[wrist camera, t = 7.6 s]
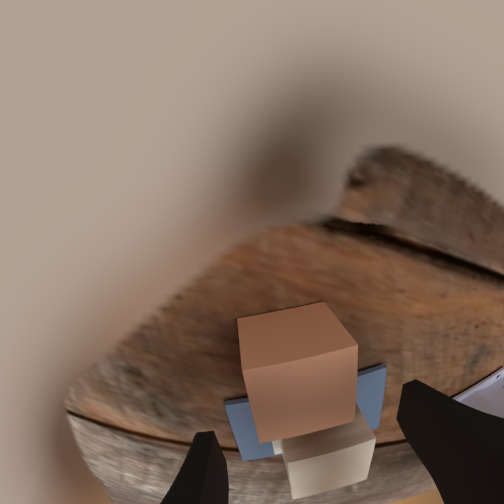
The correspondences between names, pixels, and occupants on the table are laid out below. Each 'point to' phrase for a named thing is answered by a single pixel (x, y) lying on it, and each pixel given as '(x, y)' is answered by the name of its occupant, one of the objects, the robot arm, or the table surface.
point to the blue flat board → (250, 448)
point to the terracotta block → (298, 371)
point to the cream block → (329, 457)
